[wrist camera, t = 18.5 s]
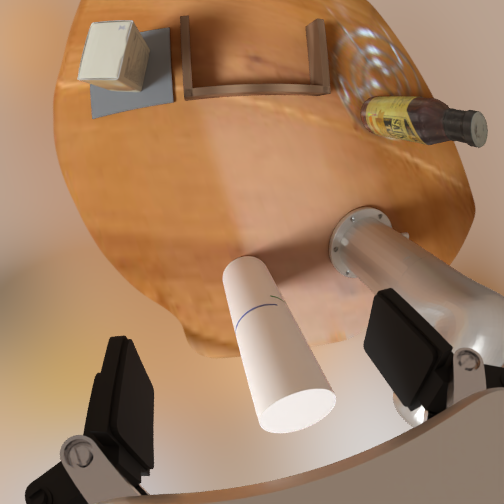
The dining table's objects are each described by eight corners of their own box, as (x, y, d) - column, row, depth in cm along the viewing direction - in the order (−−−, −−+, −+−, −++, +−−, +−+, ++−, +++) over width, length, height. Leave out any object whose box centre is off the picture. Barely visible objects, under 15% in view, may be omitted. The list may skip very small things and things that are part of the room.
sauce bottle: (352, 122, 37) (455, 133, 19) (367, 89, 35) (470, 85, 17) (382, 143, 39) (482, 167, 22) (396, 111, 37) (496, 123, 20)
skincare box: (120, 49, 26) (91, 19, 15) (151, 49, 27) (134, 16, 16) (109, 93, 29) (74, 80, 18) (141, 94, 30) (118, 79, 19)
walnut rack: (311, 27, 30) (323, 19, 26) (317, 95, 34) (330, 93, 31) (181, 27, 27) (180, 16, 23) (185, 100, 32) (184, 97, 28)
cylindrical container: (224, 255, 42) (265, 395, 20) (271, 256, 43) (346, 382, 21) (221, 296, 45) (254, 437, 22) (264, 296, 46) (323, 425, 24)
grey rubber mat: (169, 28, 27) (169, 27, 26) (173, 102, 31) (173, 102, 31) (90, 45, 25) (89, 45, 25) (93, 118, 30) (92, 118, 29)
